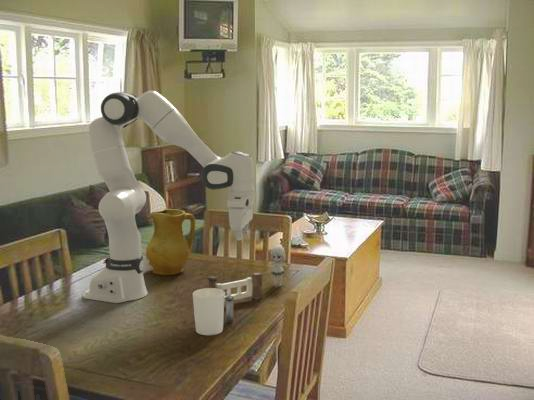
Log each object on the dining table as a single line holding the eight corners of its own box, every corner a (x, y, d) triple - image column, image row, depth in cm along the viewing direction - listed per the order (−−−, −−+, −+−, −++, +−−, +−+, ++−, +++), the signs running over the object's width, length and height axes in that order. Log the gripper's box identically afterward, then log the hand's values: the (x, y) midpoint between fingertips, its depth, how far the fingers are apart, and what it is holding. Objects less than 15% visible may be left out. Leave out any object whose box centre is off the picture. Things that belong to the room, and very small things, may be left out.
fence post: (256, 299, 229) (256, 274, 227) (252, 298, 230) (252, 273, 229) (262, 298, 230) (262, 273, 228) (258, 296, 232) (258, 272, 230)
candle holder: (212, 338, 194) (212, 300, 191) (186, 332, 199) (185, 294, 197) (231, 328, 202) (231, 291, 200) (206, 322, 207) (205, 286, 205)
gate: (218, 303, 220) (217, 284, 219) (216, 302, 221) (215, 283, 220) (251, 296, 228) (251, 278, 227) (249, 295, 229) (249, 277, 228)
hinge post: (207, 309, 219) (206, 278, 217) (209, 306, 222) (209, 276, 220) (215, 309, 219) (215, 279, 217) (218, 306, 221) (217, 276, 220)
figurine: (262, 285, 245) (262, 246, 243) (268, 280, 251) (268, 242, 248) (288, 288, 241) (288, 248, 239) (294, 283, 247) (294, 245, 244)
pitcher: (153, 263, 274) (153, 205, 269) (196, 267, 272) (198, 208, 267) (140, 276, 258) (140, 214, 253) (186, 280, 255) (187, 218, 250)
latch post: (224, 323, 206) (223, 298, 205) (226, 320, 209) (226, 295, 208) (232, 323, 206) (232, 299, 204) (235, 320, 208) (234, 296, 207)
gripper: (239, 193, 238) (240, 230, 240) (225, 203, 218) (226, 243, 220) (256, 193, 236) (257, 231, 239) (243, 203, 217) (244, 244, 219)
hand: (242, 237), depth 229 cm, fingers open, 7 cm apart
